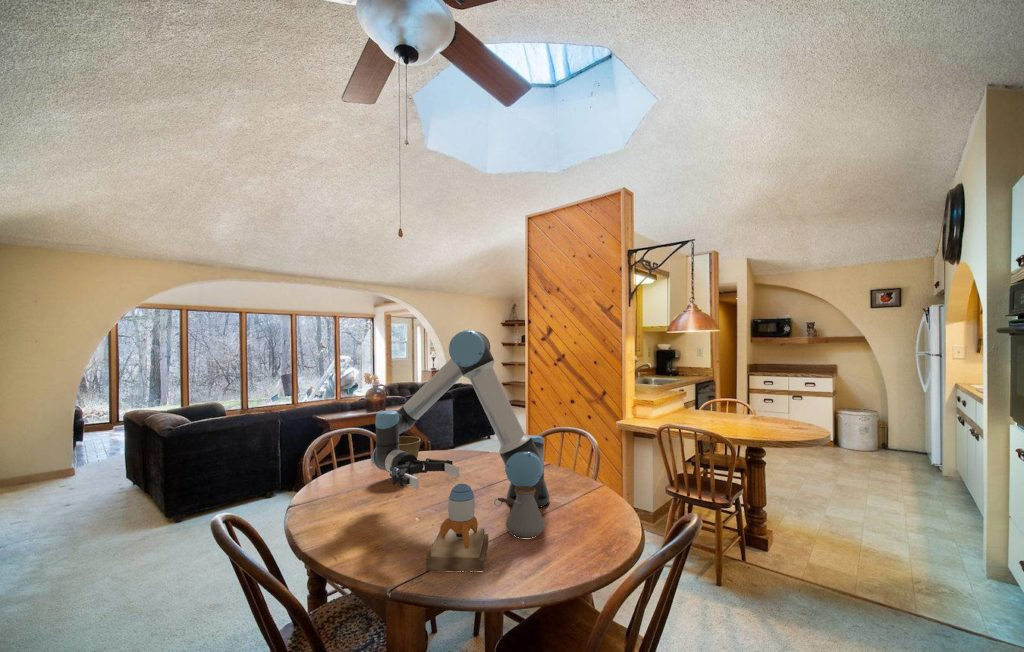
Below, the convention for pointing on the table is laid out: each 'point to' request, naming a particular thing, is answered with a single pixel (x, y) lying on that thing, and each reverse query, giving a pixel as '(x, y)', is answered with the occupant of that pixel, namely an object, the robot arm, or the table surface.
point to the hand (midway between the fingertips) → (438, 477)
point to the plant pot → (409, 444)
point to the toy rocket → (460, 513)
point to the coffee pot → (524, 514)
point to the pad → (458, 561)
